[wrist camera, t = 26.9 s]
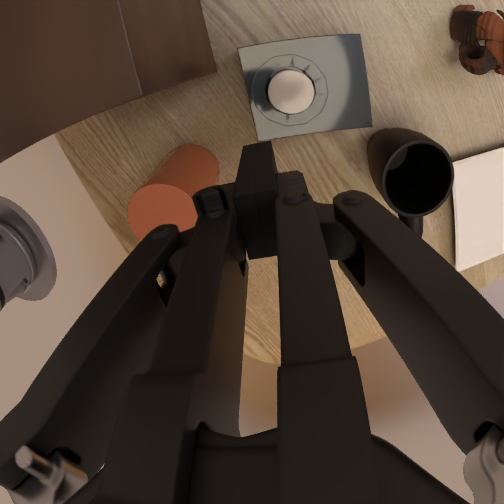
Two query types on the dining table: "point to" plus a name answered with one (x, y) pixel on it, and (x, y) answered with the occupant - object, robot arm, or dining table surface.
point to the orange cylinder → (172, 190)
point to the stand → (90, 59)
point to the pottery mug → (479, 28)
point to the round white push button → (290, 91)
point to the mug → (410, 173)
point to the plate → (479, 208)
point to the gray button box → (322, 77)
